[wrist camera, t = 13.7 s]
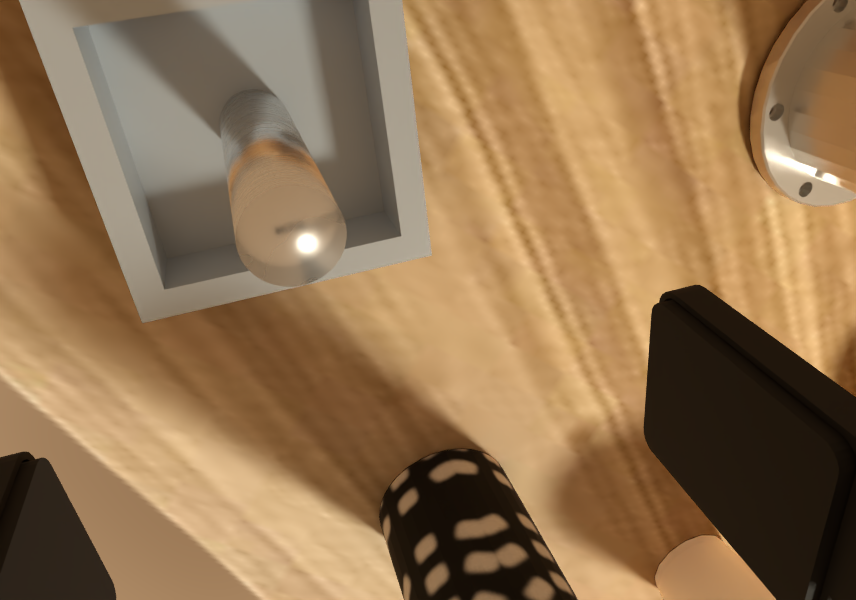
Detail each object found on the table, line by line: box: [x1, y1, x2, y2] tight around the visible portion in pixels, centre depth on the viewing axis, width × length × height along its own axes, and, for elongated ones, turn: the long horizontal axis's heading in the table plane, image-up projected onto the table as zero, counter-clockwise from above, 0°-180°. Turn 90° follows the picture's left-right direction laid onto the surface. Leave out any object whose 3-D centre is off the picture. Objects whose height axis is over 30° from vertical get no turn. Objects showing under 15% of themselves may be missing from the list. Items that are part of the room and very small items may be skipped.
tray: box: [19, 0, 432, 323], centre depth 26 cm, size 12×12×4 cm
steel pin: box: [220, 89, 347, 287], centre depth 22 cm, size 3×3×12 cm
